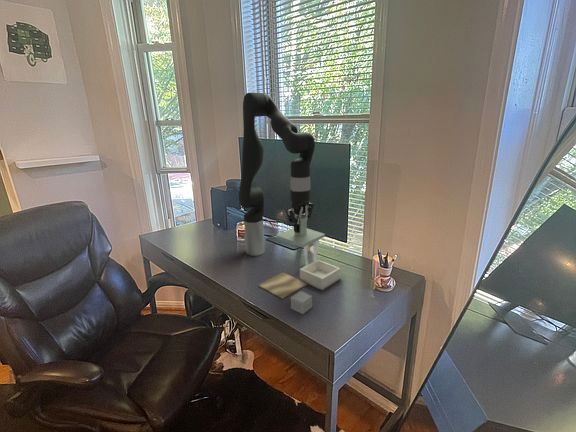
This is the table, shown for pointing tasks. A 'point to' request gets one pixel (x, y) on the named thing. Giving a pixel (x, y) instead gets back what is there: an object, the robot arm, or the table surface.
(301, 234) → the lid
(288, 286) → the mat
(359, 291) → the table surface
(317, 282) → the open square box
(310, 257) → the beer glass
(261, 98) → the robot arm
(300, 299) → the small box
